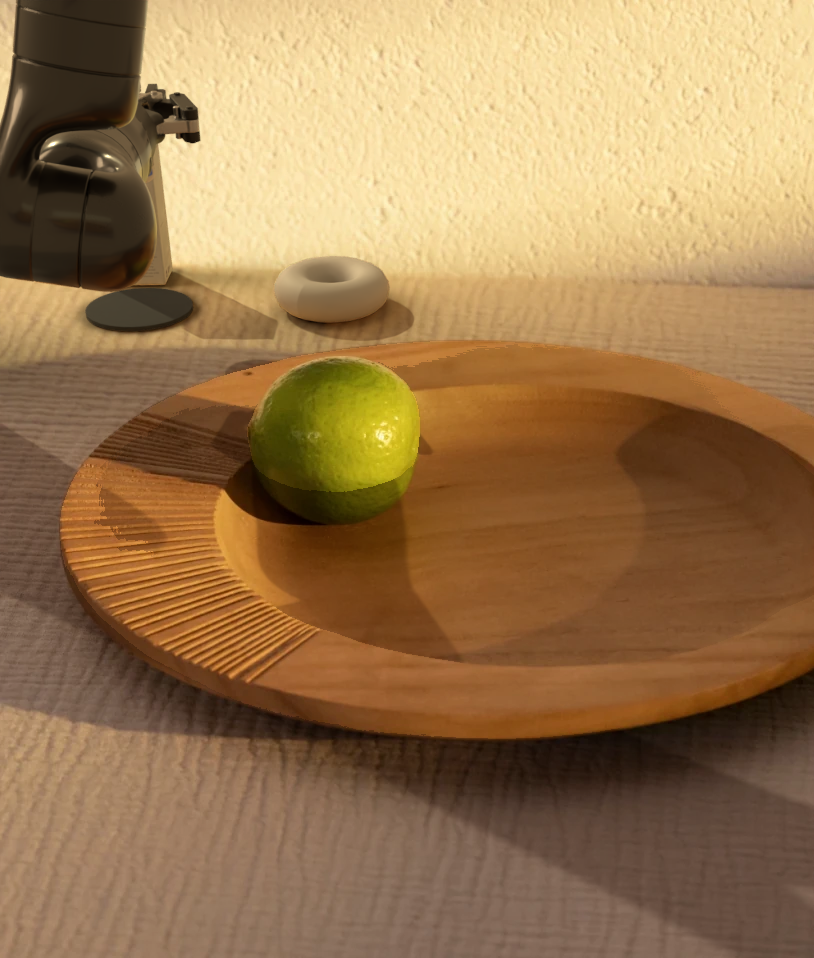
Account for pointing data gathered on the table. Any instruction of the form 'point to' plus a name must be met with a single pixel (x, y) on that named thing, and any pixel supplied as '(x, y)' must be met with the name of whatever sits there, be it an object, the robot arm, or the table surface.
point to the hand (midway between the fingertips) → (119, 97)
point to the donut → (331, 289)
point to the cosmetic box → (159, 231)
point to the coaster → (139, 309)
